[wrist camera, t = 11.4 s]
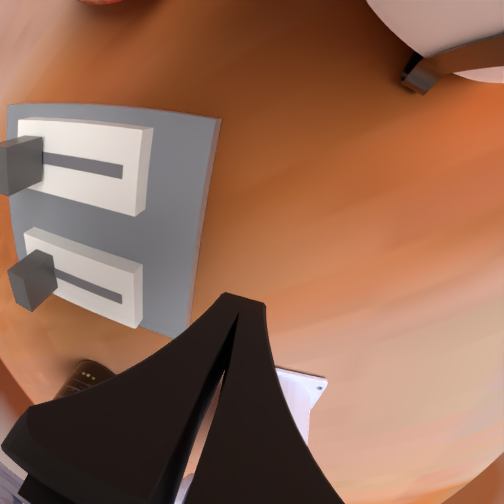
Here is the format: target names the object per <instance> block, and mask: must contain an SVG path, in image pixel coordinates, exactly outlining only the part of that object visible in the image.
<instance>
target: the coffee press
mask: <svg viewBox="0 0 504 504" xmlns="http://www.w3.org/2000/svg"><path fill="white" fill-rule="evenodd" d="M366 1H367V3H368V4H369V6H370V7H371V8H372V10H373V11H374V12H375V13H376V14H377V16H378V17H379V18H380V19H381V20H382V21H383V22H384V24H385V25H386V26H387V27H388V28H389V29H390V30H391V31H392V32H393V33H394V34H396V35H397V36H398V37H399V38H400V39H401V40H402V41H403V42H405V43H406V44H407V45H408V46H409V47H411V48H412V49H413V50H414V52H413V54H412V55H411V57H410V59H409V60H408V62H407V63H406V65H405V67H404V69H403V71H402V74H401V77H400V83H401V84H403V85H405V86H407V87H408V88H410V89H412V90H414V91H416V92H417V93H419V94H421V95H424V94H426V93H427V92H428V91H429V89H430V88H431V87H432V86H433V85H434V84H435V83H436V82H437V81H438V80H439V79H440V78H441V77H442V76H444V75H447V74H451V73H454V74H456V75H459V76H461V77H464V78H467V79H471V80H475V81H480V82H488V83H504V0H366Z"/></svg>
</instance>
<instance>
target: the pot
mask: <svg viewBox="0 0 504 504" xmlns="http://www.w3.org/2000/svg"><path fill="white" fill-rule="evenodd" d="M78 1H80V2H82V3H84V4H88V5H105V4H111V3H116V2H119V1H122V0H78Z"/></svg>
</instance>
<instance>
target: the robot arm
mask: <svg viewBox="0 0 504 504" xmlns="http://www.w3.org/2000/svg"><path fill="white" fill-rule="evenodd" d="M224 370H225V372H224ZM223 372H224V376H223V381H222V386H221V391H220V396H219V401H218V405H217V408H216V412H215V415H214V418H213V421H212V424H211V427H210V430H209V433H208V436H207V439H206V442H205V445H204V447H203V450H202V453H201V456H200V459H199V462H198V465H197V468H196V471H195V473H191V474H189V475H187V476H186V477H185V478H183V475H184V472H185V469H186V466H187V462H188V459H189V456H190V453H191V450H192V447H193V444H194V441H195V438H196V435H197V432H198V430H199V427H200V425H201V422H202V420H203V418H204V416H205V413H206V411H207V409H208V407H209V404H210V402H211V400H212V398H213V395H214V393H215V391H216V389H217V386H218V384H219V382H220V379H221V377H222V375H223ZM326 386H327V380H326V379H324V378H320V377H315V376H310V375H306V374H301V373H297V372H292V371H288V370H284V369H279V368H275V365H274V361H273V357H272V352H271V347H270V343H269V337H268V330H267V322H266V306H265V304H264V303H263V302H259V301H255V300H252V299H248V298H244V297H241V296H237V295H234V294H230V293H227V292H225V293H223V294H221V295H220V297H219V298H218V299H217V300H216V301H215V302H214V304H213V305H212V306H211V307H210V308H209V309H208V310H207V311H206V312H205V313H204V314H203V315H202V316H201V317H200V318H198V319H197V320H196V321H195V322H194V323H193V324H192V325H191V326H189V327H188V328H187V329H186V330H185V331H184V332H182V333H181V334H180V335H179V336H177V337H176V338H175V339H173V340H172V341H171V342H169V343H168V344H167V345H166V346H164V347H163V348H161V349H160V350H158V351H157V352H156V353H154V354H153V355H151V356H149V357H148V358H146V359H145V360H143V361H141V362H140V363H138V364H136V365H135V366H133V367H131V368H129V369H127V370H126V371H124V372H122V373H120V374H118V375H116V376H114V377H112V378H110V379H108V380H106V381H104V382H101V383H99V384H96V385H94V386H92V387H89V388H87V389H84V390H82V391H79V392H77V393H74V394H71V395H68V396H65V397H62V398H58V399H55V400H52V401H48V402H44V403H41V404H37V405H33V406H30V407H29V408H28V409H27V410H26V411H25V412H24V413H23V414H22V415H21V416H20V418H19V419H18V420H17V422H16V423H15V425H14V426H13V428H12V429H11V431H10V432H9V434H8V435H7V437H6V438H5V440H4V441H3V443H2V444H1V448H2V450H3V451H4V452H5V454H7V455H8V456H9V457H10V458H11V459H12V460H13V461H14V462H15V463H16V464H18V465H19V466H20V467H21V468H22V469H24V470H25V471H26V472H27V473H28V475H27V477H26V479H25V480H24V481H23V480H22V479H21V478H20V477H18V476H17V475H16V474H14V473H13V472H12V471H11V470H9V469H8V468H7V467H6V466H4V465H3V464H2V463H1V462H0V504H23V503H24V504H345V503H344V502H343V500H342V499H341V498H340V497H339V495H338V494H337V493H336V491H335V490H334V488H333V487H332V486H331V484H330V483H329V481H328V480H327V478H326V477H325V475H324V474H323V472H322V471H321V469H320V467H319V466H318V464H317V463H316V461H315V459H314V458H313V456H312V454H311V452H310V450H309V449H308V447H307V444H308V431H309V417H310V410H311V409H312V407H313V406H314V404H315V403H316V401H317V400H318V398H319V397H320V395H321V394H322V392H323V391H324V389H325V388H326ZM182 478H183V479H182ZM22 502H23V503H22Z"/></svg>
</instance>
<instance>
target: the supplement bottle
mask: <svg viewBox="0 0 504 504" xmlns="http://www.w3.org/2000/svg"><path fill="white" fill-rule="evenodd" d="M114 376H116V375H115V374H114V373H112V372H111V371H110V370H109V369H107V368H106V367H104V366H102V365H100V364H98V363H96V362H92V361H83V362H81V363H79V364H78V365H77V367H76V368H75V369H74V371H73V372H72V373H71V375H70V376H69V377H68V379H67V380H66V382H65V383H64V384H63V386H62V387H61V389H60V390H59V391H58V393H57V394H56V396H55V397H54V399H53V400H55V399H58V398H62V397H65V396H68V395H71V394H74V393H77V392H79V391H82V390H84V389H87V388H89V387H92V386H94V385H96V384H99V383H101V382H104V381H106V380H108V379H110V378H112V377H114Z"/></svg>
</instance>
